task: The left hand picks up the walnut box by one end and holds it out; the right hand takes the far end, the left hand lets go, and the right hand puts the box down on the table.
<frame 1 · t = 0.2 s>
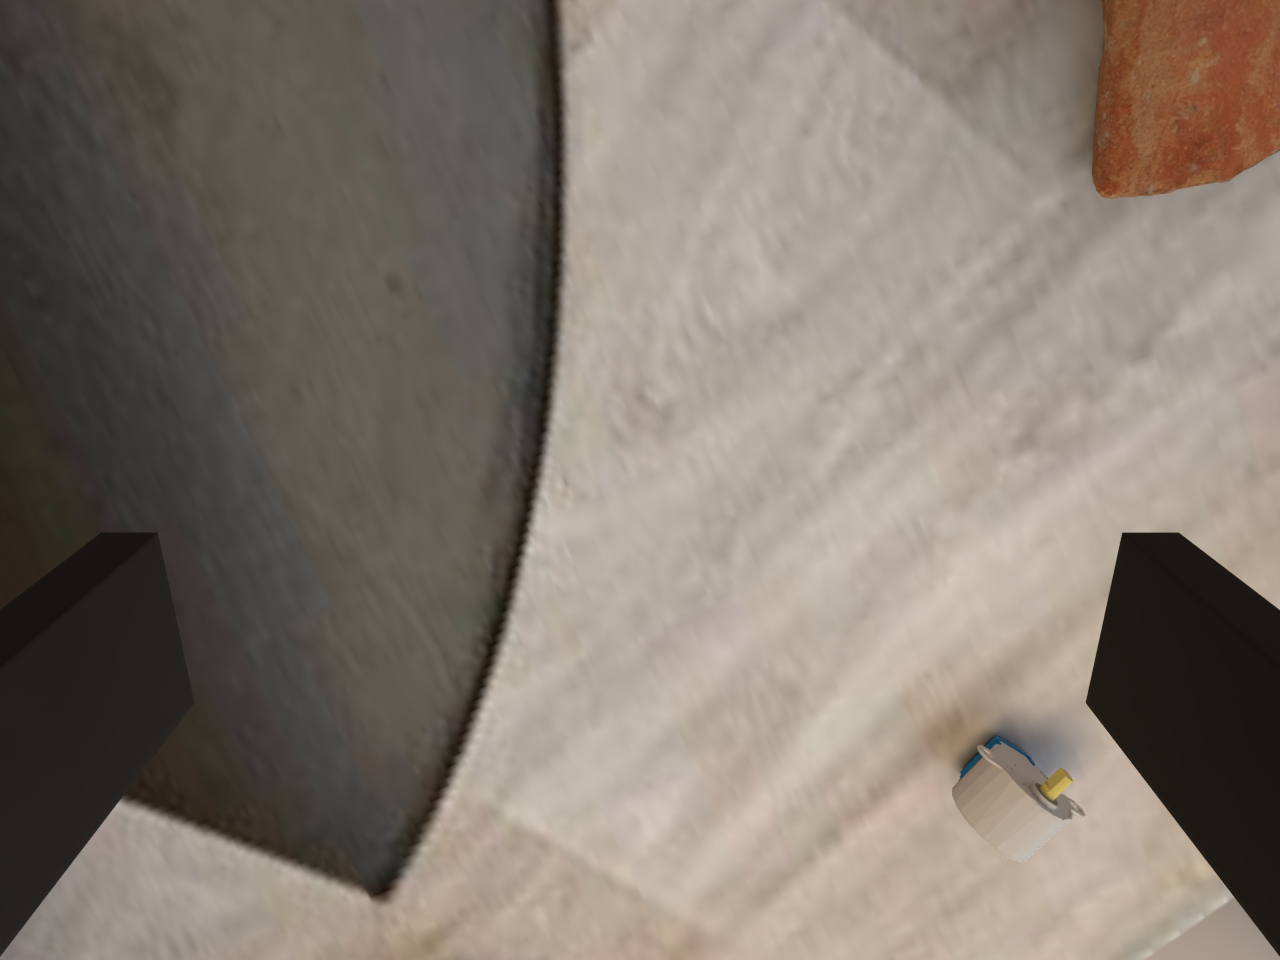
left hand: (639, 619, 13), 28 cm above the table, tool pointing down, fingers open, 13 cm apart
electric motor: (1000, 752, 47), on the table
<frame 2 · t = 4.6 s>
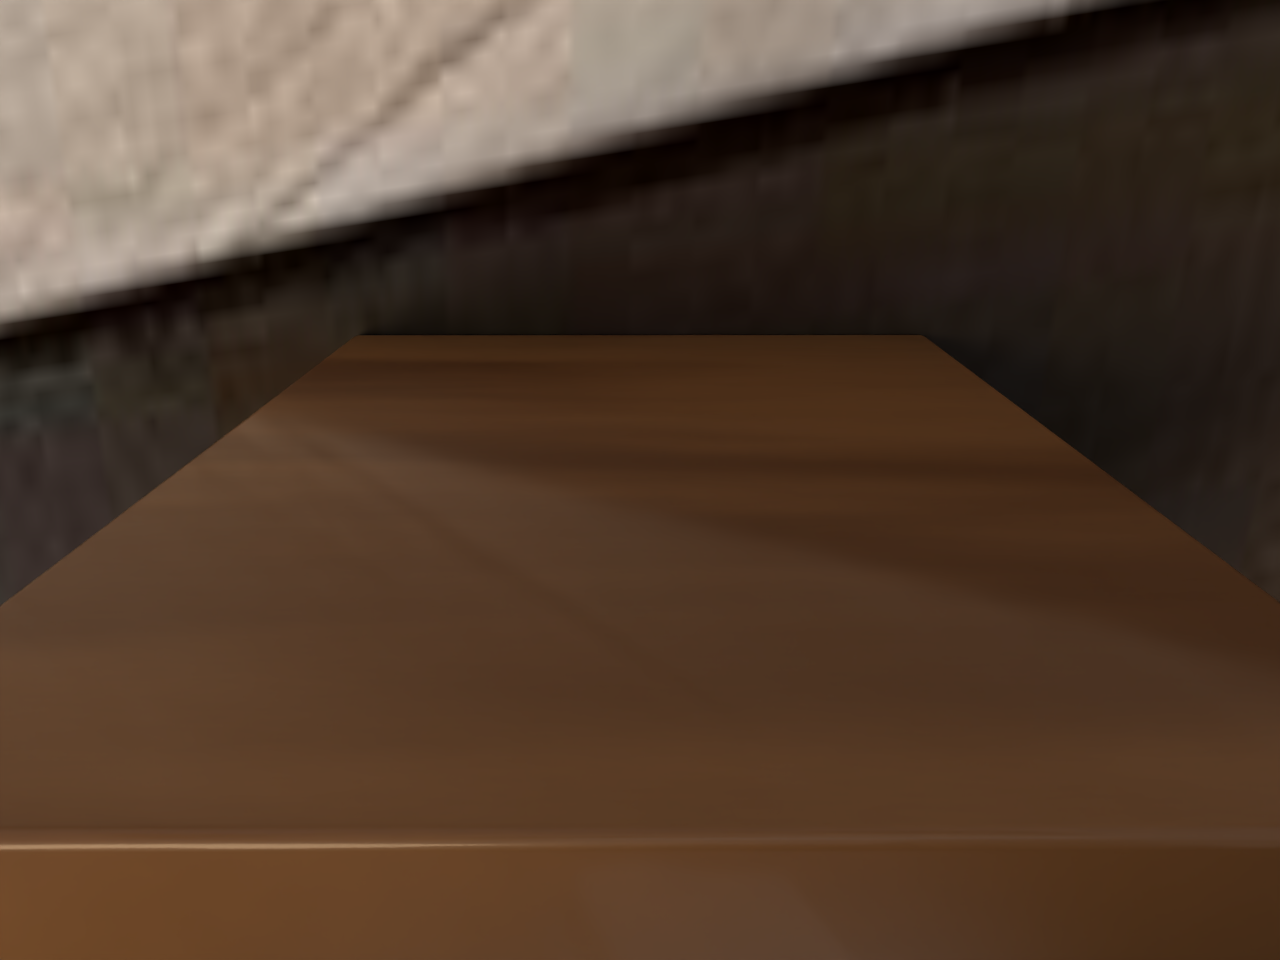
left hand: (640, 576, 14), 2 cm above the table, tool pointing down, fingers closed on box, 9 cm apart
box: (639, 857, 18), on the table, touching left hand
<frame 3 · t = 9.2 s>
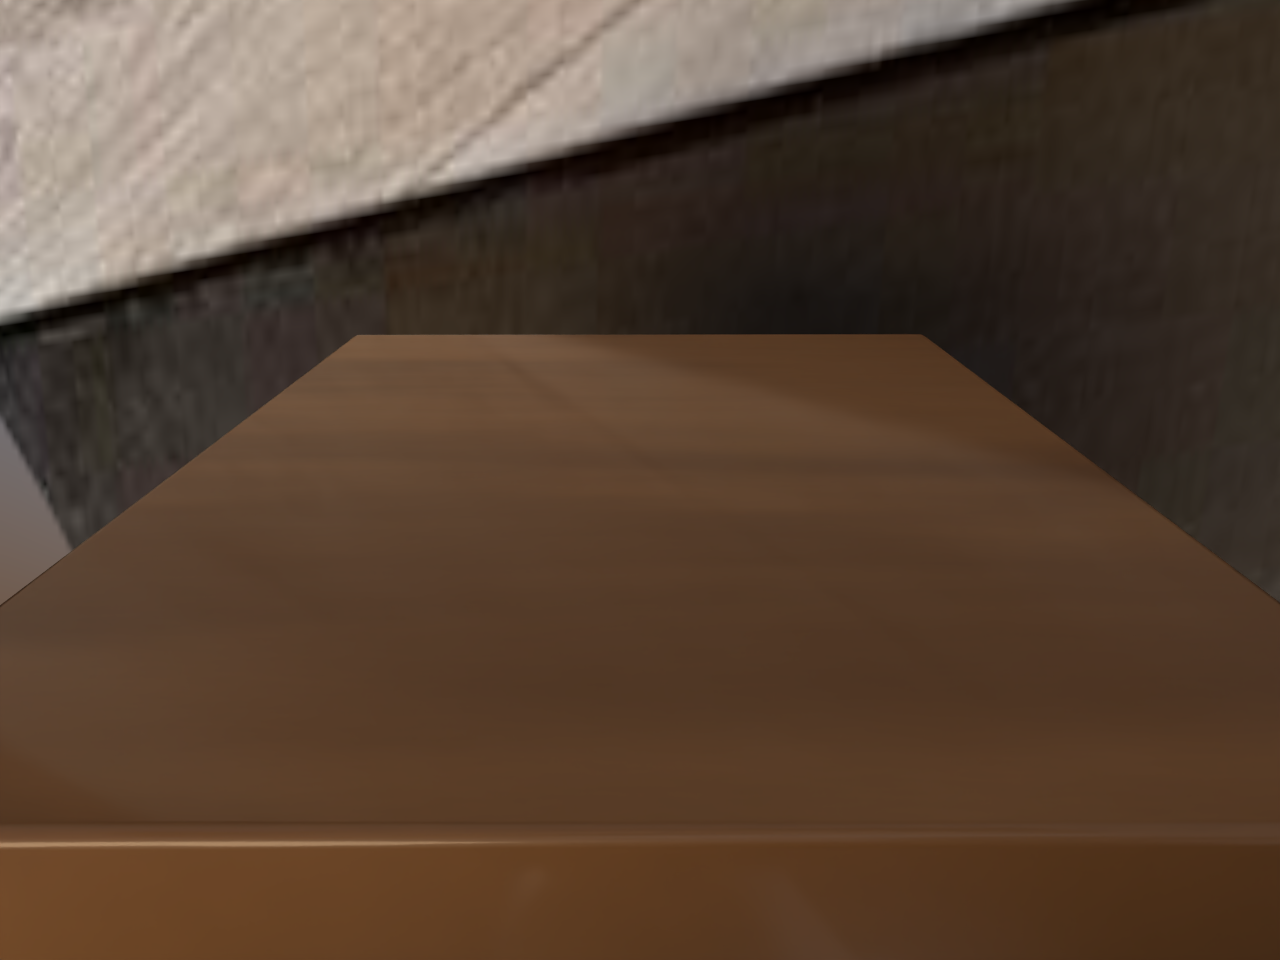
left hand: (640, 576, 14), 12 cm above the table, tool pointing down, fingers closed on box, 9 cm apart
box: (640, 856, 18), point 10 cm above the table, touching left hand, right hand
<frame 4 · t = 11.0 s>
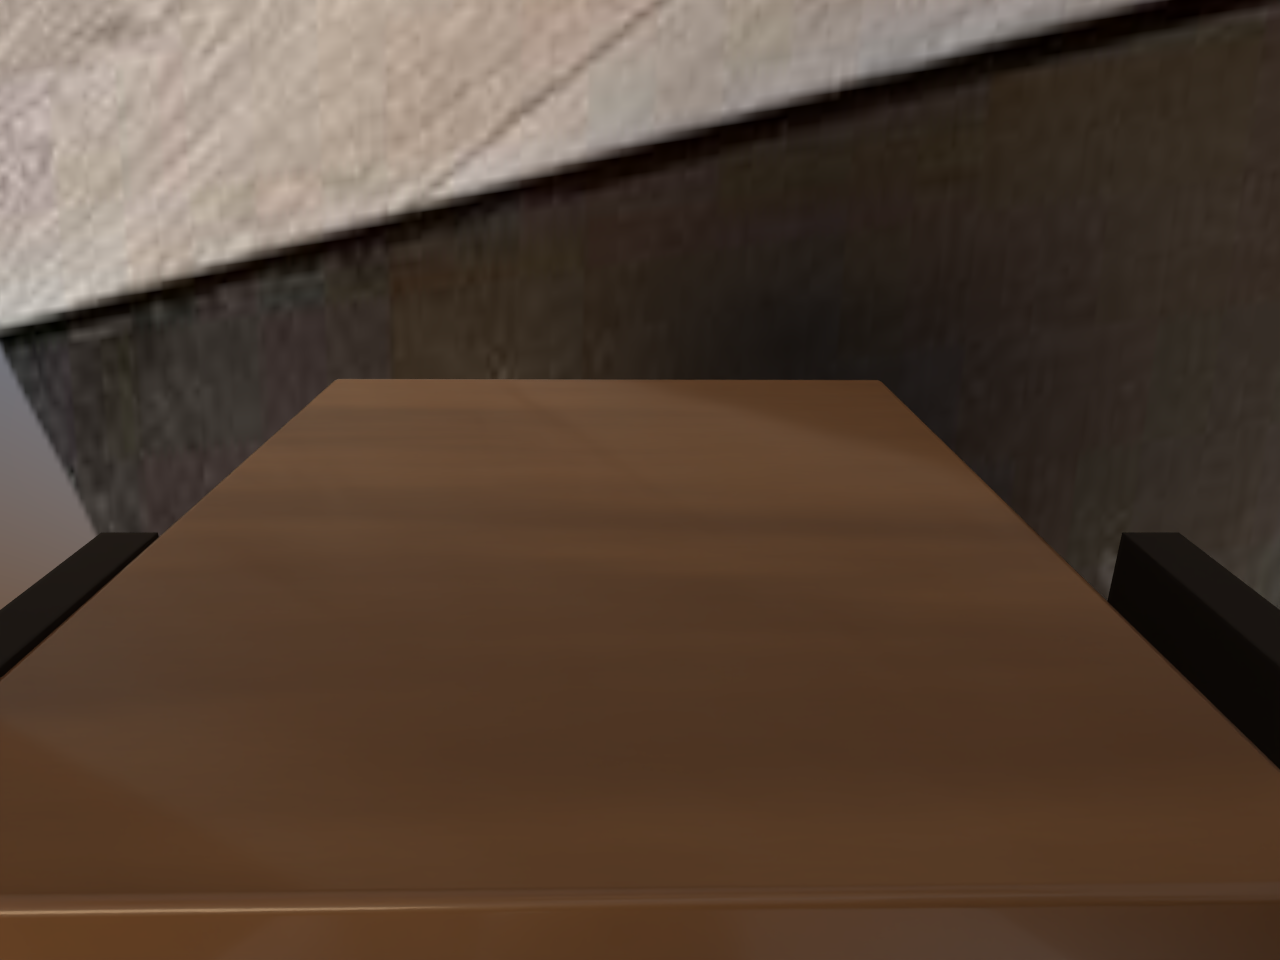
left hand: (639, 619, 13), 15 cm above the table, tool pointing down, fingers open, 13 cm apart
box: (612, 877, 18), point 12 cm above the table, touching right hand
when the right hand's fingers open (3 cm above the table, at t = 15.2 s): box drops 1 cm, on the table.
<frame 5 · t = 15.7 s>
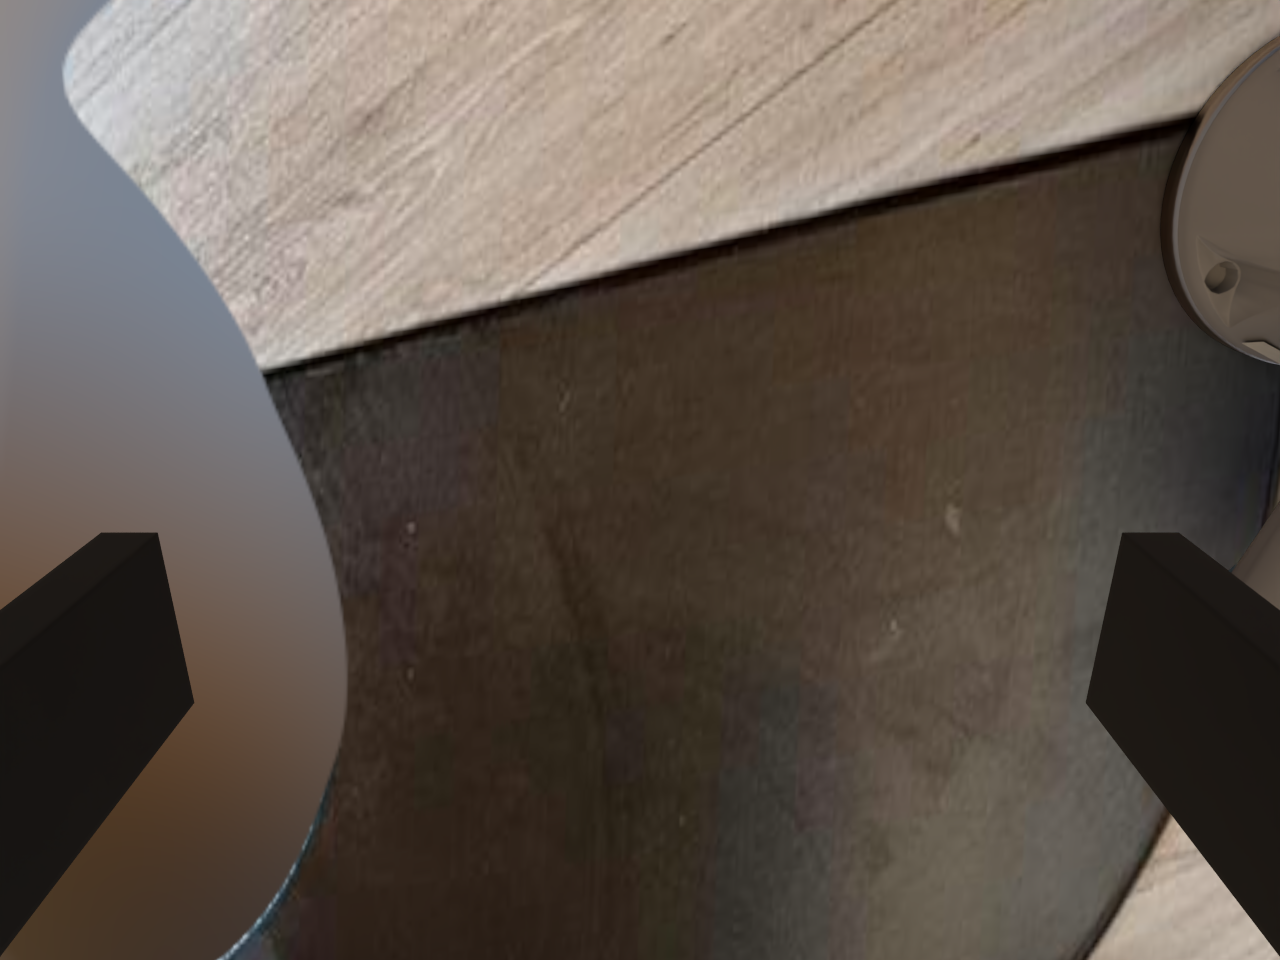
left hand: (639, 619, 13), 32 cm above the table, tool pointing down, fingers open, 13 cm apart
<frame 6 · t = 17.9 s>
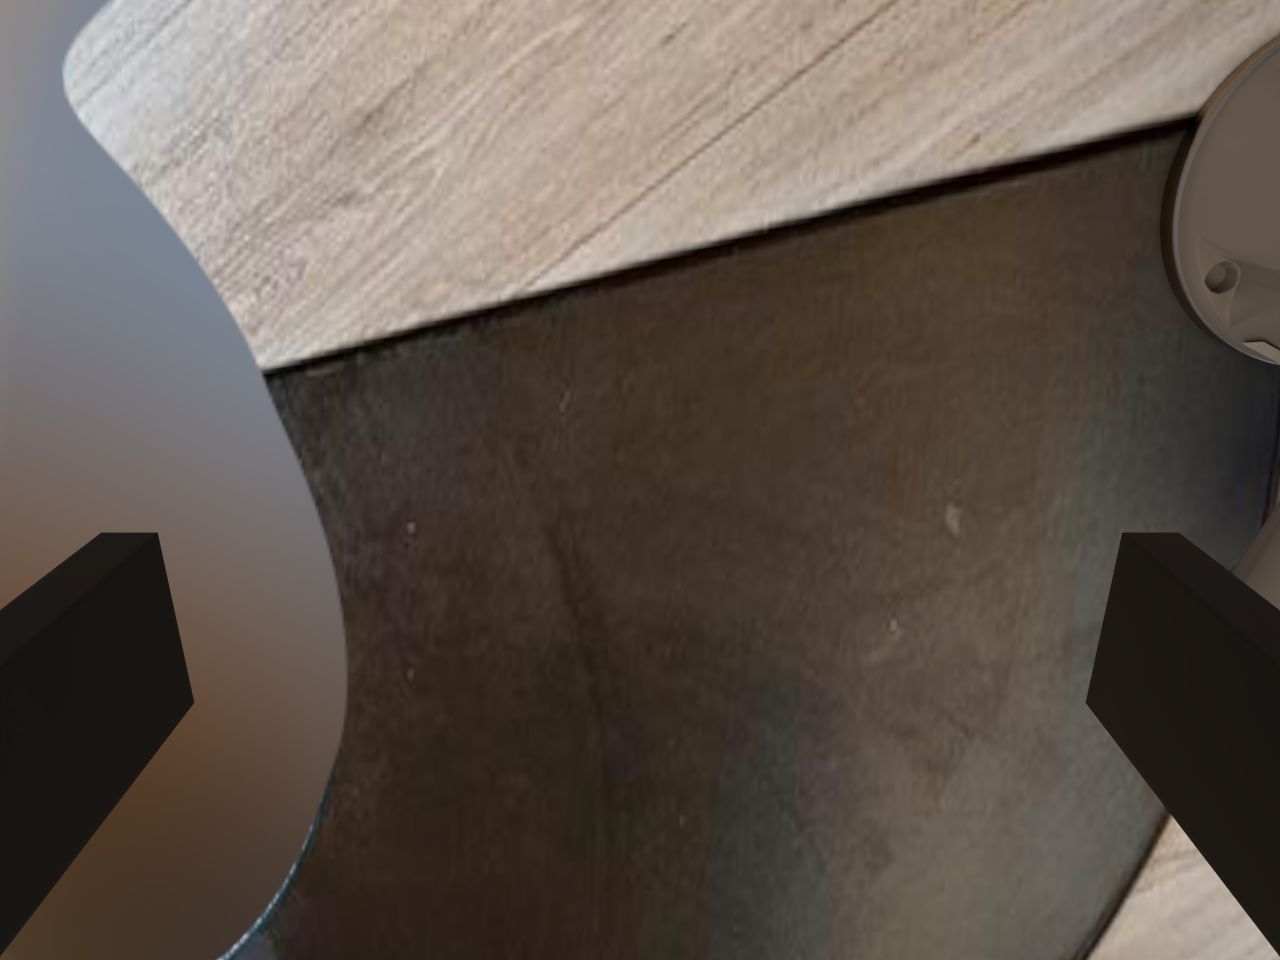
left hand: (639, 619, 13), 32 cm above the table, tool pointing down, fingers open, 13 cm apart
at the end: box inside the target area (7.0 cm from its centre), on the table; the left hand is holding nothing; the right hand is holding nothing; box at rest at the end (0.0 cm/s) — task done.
